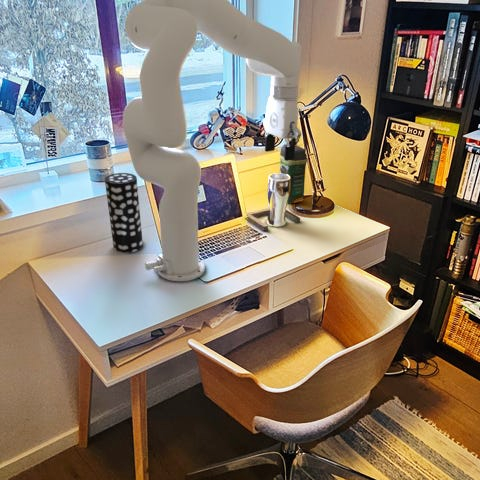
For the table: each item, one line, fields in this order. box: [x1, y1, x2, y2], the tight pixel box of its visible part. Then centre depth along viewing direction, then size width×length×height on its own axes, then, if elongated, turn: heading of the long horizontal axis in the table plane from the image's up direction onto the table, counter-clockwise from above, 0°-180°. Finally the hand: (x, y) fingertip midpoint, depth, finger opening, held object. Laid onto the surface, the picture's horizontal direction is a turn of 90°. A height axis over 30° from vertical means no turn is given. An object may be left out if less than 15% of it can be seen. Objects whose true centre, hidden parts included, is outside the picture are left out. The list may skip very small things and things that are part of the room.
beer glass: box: [266, 172, 290, 228], centre depth 159 cm, size 7×7×15 cm
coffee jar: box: [279, 143, 308, 204], centre depth 175 cm, size 10×8×19 cm
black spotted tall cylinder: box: [104, 172, 144, 254], centre depth 142 cm, size 8×8×20 cm
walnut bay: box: [246, 207, 301, 232], centre depth 165 cm, size 14×12×2 cm
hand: (279, 155), depth 150 cm, fingers open, 9 cm apart
